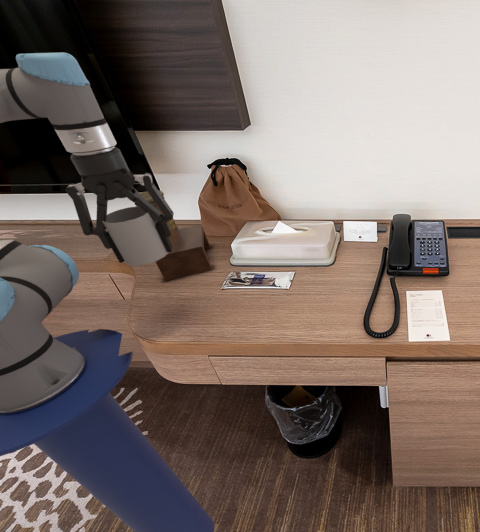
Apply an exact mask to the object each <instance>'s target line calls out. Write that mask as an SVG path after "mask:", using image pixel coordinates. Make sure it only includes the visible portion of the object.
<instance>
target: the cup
mask: <svg viewBox="0 0 480 532" xmlns="http://www.w3.org/2000/svg"><path fill="white" fill-rule="evenodd" d="M102 222H103V224H104V225H105V227H106V231H108V233H109V234H110V236H111V238H112V240H113V242H114V243H115V245H116V247H117V249H118V251H119V252H120V254H121V256H122V258H123V259H124V263H125V264H126V265H128V266H132V267H133V266H135V267H139V266H144V265H148V264H151V263H156V262H155V261H157V260H159V259H161V258H163V257H165V256H166V255H167V254H168V252H167V249H166V247H165V245H164V243H163V241H162V239H161V237H160V235H159V232H158V230H157V228H156V223H157V222H156V221H155V220H154V219H153V218H152V217H151V216H150V215H149V213H146V212H145V211H144V210H143V209H141V208H140V207H139V206H136V205H135V206H129V207H125V208H120V209H117V210H114V211H111V212H110V213H107V219H106V222H104V221H102Z"/></svg>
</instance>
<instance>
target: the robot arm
mask: <svg viewBox="0 0 480 532" xmlns="http://www.w3.org/2000/svg"><path fill="white" fill-rule="evenodd" d="M15 60H16V63H17V67H13V68H0V124H2V123H5V122H11V121H21V120H32V119H33V120H35V119H46V118H47V119H48V121H49V122H50V124H51V125H52V128H53V129H54V131H55V133H56V134H57V137H58V138H59V140H60V141H61V143H62V146H63V147H64V149H65V151H66V152H68V153H71V154H70V157H69V158H70V161H71V162H72V164H73V165H74V167H75V169H76V171H77V172H78V174H79V176H80V178H81V182H78V183H69V184H68V186H66V188H65V189H64V190H65V192H66V194H67V195H68V196H69V197H70V198H71V200H72V203H73V205H74V208H75V211H76V214H77V217H78V220H79V224H80V228H81V231H82V233H83V235H85V236H96V237H98V238H99V240H100V241H101V243H102V245H103V247H104V248H105V249H106V250H109V249H111V250H112V252H113V254H114V255H115V257H116V259H117V260H118V262H119V263H120V264H121V263H125V261H124V259H123V258H122V256H121V254H120V252H119V251H118V249H117V247H116V245H115V243H114V242H113V240H112V238H111V236H110V234H109V233H108V231H107V229H106V227H105V225H104V224H103V222H102V221H104V222H106V219H107V215H108V204H109V203H108V202H109V201H113V200H115V199H126V198H127V199H128V200H129V201H131V202H132V203H134V205H135V204H137V205H138V206H139V207H140V208H141V209H143V210H144V211H145V212H146V213H149V215H150V216H151V217H152V218H153V219H154V220H155V221H157V223H156V228H157V230H158V232H159V235H160V237H161V239H162V241H163V243H164V245H165V247H166V249H167V252H172V244H171V242H170V240H169V238H168V237H169V236H171V230H170V227H169V225H168V223H167V221H168V220H171V219H174V215H175V213H174V211H173V210H172V208H171V207H170V205H169V204H168V202H167V201H166V199H165V197H164V196H163V197H164V198H163V197H162V195H161V194H160V192H159V191H158V190H159V189H158V188H157V186H156V185H155V184H154V180H153V175H152V174H151V173H150V172H145V173H144V174H135V173H134V172H132V171H131V169H130V168H129V167H128V164H127V162H126V160H125V158H124V156H123V153H122V152H121V149H120V148H118V147H116V145H117V140H116V139H115V136H114V135H113V132H112V130H111V128H110V126H109V124H108V122H107V120H106V118H105V117H104V114H103V112H102V110H101V108H100V105H99V103H98V100H97V99H96V96H95V94H94V92H93V89H92V88H91V87H92V86H91V83H90V80H88V79H87V77H86V75H85V73H84V71H83V70H82V68H81V66H80V64H79V62H78V60H77V58H75V57H74V56H73V55H72V54H70V53H68V52H63V51H62V52H34V53H33V52H32V53H17V54H16V56H15ZM136 182H138V183H139V185H141V186H143V187H144V188H145V189H146V191H148V193H149V194H150V196H151V197H152V198H153V200H154V201H155V203H156V204H157V205H158V207H159V208H160V210H161V211H162V212H163V214H162V213H161V212H160V211H158V210H157V209H156V208H155V207H154V206H153V205H152V204H150V203H149V202H148V201H147V200H146V199H145V198H144V197H142V196H141V195H140V194H139V193H140V192H139V191H138V190H137V189H136V188H135V187H134V185H135V183H136ZM85 189H86V191H89V192H90V193H92V194H93V195H96V217H95V218H96V220H95V221H96V222H95V223H96V224H95V226H94V224H93V223H94V222H93V220H92V216H91V214H90V213H91V212H90V210H89V207H88V204H87V200H86V197H85V193H86V191H85ZM164 199H165V200H164ZM79 278H80V271H79V269H78V265H77V264H76V261H74V259H73V258H72V257H71V256H70V255H69V254H68V253H66V252H64V251H63V250H61V249H59V248H57V247H55V246H52V245H47V244H43V245H40V244H33V245H29V246H28V245H26V244H24V243H22V242H20V241H18V240H16V239H0V415H14V414H19V413H23V412H27V411H30V410H32V409H35V408H37V407H40V406H42V405H44V404H46V403H48V402H50V401H51V400H53V399H55V398H56V397H58V396H60V395H61V394H63V393H64V392H65V391H67V390H68V389H69V388H70V387H71V386H73V385H74V384H75V383H76V382H77V381H78V380H79V378H80V377H81V376H82V375H83V373H84V371H85V369H86V366H87V362H86V359H85V358H84V357H83V355H82V354H81V353H79V352H78V351H77V349H76V348H75V347H74V348H71V347H69V346H67V345H65V344H64V343H62V342H60V341H58V340H56V339H54V338H55V337H53V335H52V334H51V333H50V332H49V330H48V329H47V328H46V327H45V325H44V324H43V322H44V320H45V319H46V318H47V317H48V316H49V315H50V314H51V313H52V312H53V311H54V309H56V307H58V306H59V304H60V303H61V302H62V301H63V300H64V299H65V298H66V297H67V296H69V295H70V293H72V291H73V289H74V287H75V286H76V284H77V283H78V281H79Z"/></svg>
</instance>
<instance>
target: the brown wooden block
mask: <svg viewBox="0 0 480 532" xmlns="http://www.w3.org/2000/svg"><path fill="white" fill-rule="evenodd" d="M168 238H169V240H170V242H171V244H172V252H168V254H167V255H166V256H165V257H163V258H161V259H159V260H157V261H155V262H154V263H155V264H156V265H157V268H158V269H159V271H160V273H161V275H162V277H163V279H164V281H165V282H167V281H171V280H175V279H179V278H184V277H187V276H191V275H195V274H199V273H203V272H207V271H210V270H211V271H212V265H211V263H210V260H209V258H208V255H207V253H206V250H208V249H209V250H210V249H211V244H210V242H209V241H210V240H209V239H208V236H207V234H206V231H205V229H204V226H203V224H195V225H192V226H187V227H182V228H178V229H177V230H172V231H171V236H169V237H168Z"/></svg>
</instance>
